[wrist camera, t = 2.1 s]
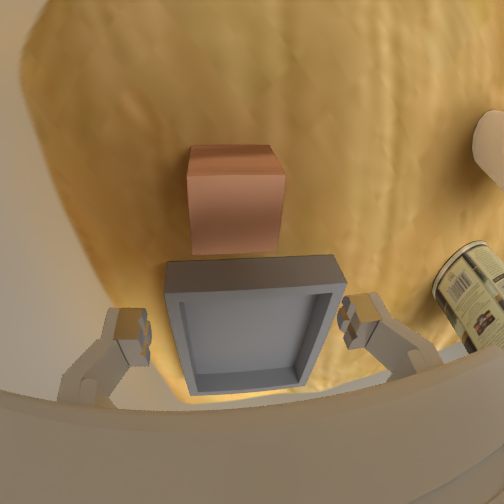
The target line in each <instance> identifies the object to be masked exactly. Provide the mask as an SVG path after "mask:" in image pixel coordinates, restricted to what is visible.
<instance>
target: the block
mask: <svg viewBox="0 0 504 504" xmlns="http://www.w3.org/2000/svg"><path fill="white" fill-rule="evenodd" d="M285 183H286V174H285V172H284V170H283V168H282V167H281V165H280V163H279V161H278V160H277V158H276V156H275V154H274V153H273V151H272V149H271V148H270V146H269V145H198V146H191V152H190V159H189V165H188V171H187V191H188V206H189V221H190V234H191V246H192V255H217V254H242V253H266V252H277V247H278V239H279V231H280V223H281V215H282V207H283V199H284V191H285Z"/></svg>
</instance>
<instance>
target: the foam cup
mask: <svg viewBox="0 0 504 504" xmlns="http://www.w3.org/2000/svg"><path fill="white" fill-rule="evenodd" d="M472 151H473V156H474V161H475V162H476V163H477V164H478V165H479V167H480V168H482V170H483V171H484V172H485V173H486V174H487V175H488V176H489V177H490V178H491V179H492V180H493V181H494V182H495V183H496V184H497V185H498V186H499V187H500V188H501V189H502V190H503V192H504V112H502V111H497V110H495V109H494V110H491V111H488V112H486V113H485V114H484V115H483V116H482V118H481V119H480V120H479V121H478V123H477V126H476V129H475V131H474V134H473V143H472Z"/></svg>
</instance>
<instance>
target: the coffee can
mask: <svg viewBox="0 0 504 504" xmlns="http://www.w3.org/2000/svg"><path fill="white" fill-rule="evenodd" d="M432 294H433V297H434V299H435V300H436V301H437V302H438V304H439V305H440V307H441V308H442V310H443V311H444V313H445V315H446V316H447V318H448V319H449V321H450V323H451V324H452V326H453V328H454V329H455V331H456V333H457V334H458V336H459V338H460V339H461V341H462V343H463V344H464V346H465V348H466V350H467V352H468V353H469V354H471V353H474V352H476V351H479V350H481V349H483V348H485V347H488V346H490V345H496V346H498V347H500V348H502V349H503V350H504V263H503V262H502V261H501V260H500V258H499V257H498V256H497V255H496V254H495V253H494V252H493V251H492V249H491V248H490V247H489V246H488V244H487V243H486V242H484V241H475V242H472V243H470V244H468V245H466V246H464V247H463V248H462V249H460V250H459V251H457V252H456V253H455V254H454V255H453V256H452V257H451V258H450V259H449V260H448V261H447V263H446V264H445V265H444V266H443V267H442V269H441V270H440V272H439V274H438V275H437V277H436V279H435V281H434V285H433V289H432Z"/></svg>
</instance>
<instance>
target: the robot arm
mask: <svg viewBox="0 0 504 504" xmlns="http://www.w3.org/2000/svg"><path fill="white" fill-rule="evenodd" d="M342 304H343V306H342V307H341V308H340V309H339V311H338V314H337V322H338V326H339V329H340V330H341V331H342V332H344V333H345V335H344V341H345V343H346V346H347V348H348V350H351V349H357V348H364V347H365V349H366V350H368V351H369V352H370V353H371V354H372V355H373V356H374V357H375V358H376V359H377V360H379V361H380V362H381V363H382V364H383V365H384V366H385V367H386V368H387V369H388V370H390V371H391V372H392V374H391V376H390V377H389V378H388V380H387V381H386V383H383V384H379V385H375V386H372V387H368V388H364V389H360V390H355V391H351V392H346V393H341V394H337V395H332V396H326V397H321V398H316V399H310V400H304V401H297V402H291V403H284V404H276V405H268V406H259V407H249V408H238V409H224V410H203V411H145V410H144V411H143V410H125V409H117V408H116V406H115V405H114V404H113V403H112V401H111V400H110V399H109V396H110V394H111V393H112V391H113V390H114V389H115V387H116V386H117V384H118V383H119V382H120V380H121V379H122V377H123V376H124V375H125V373H126V372H127V370H128V369H129V368H130V367H129V366H149V361H150V351H149V348H148V347H149V345H150V344H151V339H152V334H151V325H150V322H149V321H148V320H147V312H146V309H145V308H109V309H108V311H107V315H106V318H105V322H104V327H103V331H102V335H101V339H100V340H96V341H95V342H94V343H93V344H92V345H91V346H90V347H89V348H88V349H87V350H86V351H85V352H84V353H83V354H82V355H81V356H80V357H79V358H78V360H76V362H75V363H74V364H73V365H72V366H71V367H70V368H69V369H68V370H67V371H66V372H65V373H64V374H63V375H62V379H61V383H60V388H59V392H58V397H57V402H56V401H50V400H44V399H39V398H34V397H29V396H25V395H20V394H16V393H12V392H7V391H3V390H0V504H504V350H503V349H502V348H500V347H498V346H496V345H490V346H488V347H485V348H483V349H481V350H479V351H476V352H474V353H471V354H469V355H467V356H464V357H462V358H459V359H457V360H454V361H452V362H449V363H446V364H444V363H443V361H442V359H441V357H440V356H439V354H438V352H437V350H436V348H435V347H434V345H433V343H431V342H430V341H428V340H427V339H425V338H424V337H422V336H421V335H419V334H418V333H416V332H415V331H413V330H412V329H410V328H409V327H407V326H406V325H404V324H403V323H401V322H400V321H398V320H397V319H395V318H392V317H391V315H390V314H389V312H388V310H387V308H386V307H385V305H384V303H383V301H382V300H381V298H380V296H379V295H378V293H376V292H372V293H363V294H355V295H347V296H345V297H344V298H343V300H342Z"/></svg>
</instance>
